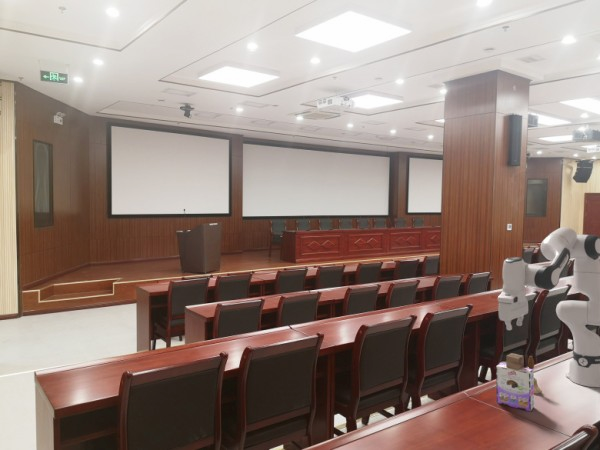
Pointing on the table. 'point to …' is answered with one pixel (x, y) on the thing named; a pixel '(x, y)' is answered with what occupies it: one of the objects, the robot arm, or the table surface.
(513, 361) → the walnut cube
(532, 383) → the candy box
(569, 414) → the table surface
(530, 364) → the hand bell
